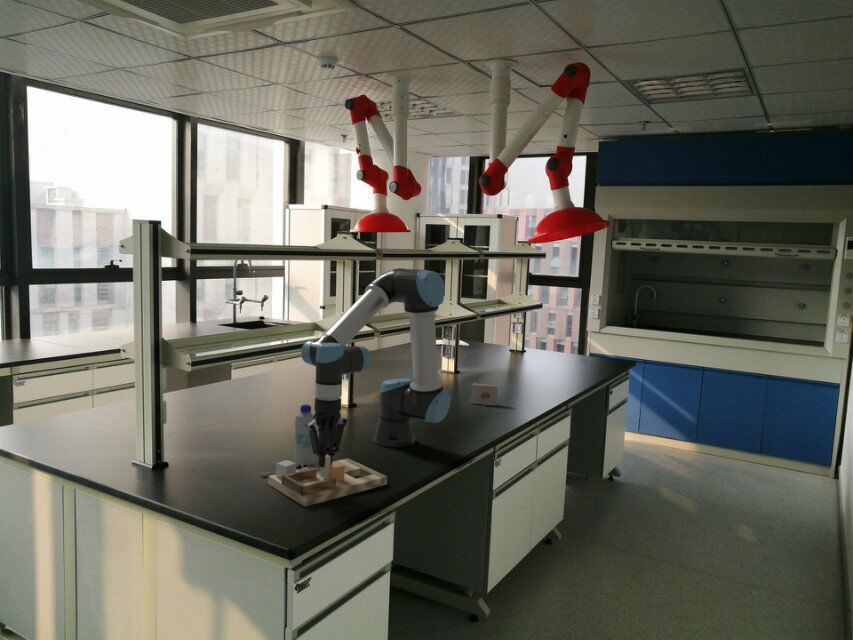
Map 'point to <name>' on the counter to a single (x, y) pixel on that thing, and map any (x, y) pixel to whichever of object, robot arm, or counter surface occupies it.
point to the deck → (342, 487)
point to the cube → (337, 471)
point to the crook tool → (268, 474)
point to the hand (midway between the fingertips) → (324, 476)
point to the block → (285, 468)
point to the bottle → (303, 438)
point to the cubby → (294, 485)
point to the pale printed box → (484, 394)
